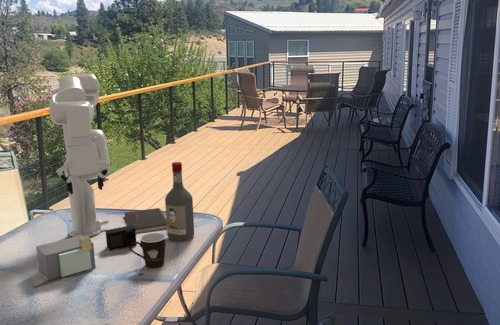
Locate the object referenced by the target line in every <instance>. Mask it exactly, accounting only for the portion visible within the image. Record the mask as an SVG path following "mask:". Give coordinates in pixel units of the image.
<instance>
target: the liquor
mask: <svg viewBox="0 0 500 325" xmlns="http://www.w3.org/2000/svg"><path fill="white" fill-rule="evenodd" d="M171 171H172V179H173V180H172V181H173V183H172V184H173V185H172V187H171V189H170V191H169V192H168V193H167V194H166V195H165V198H164V202H165V204H164V205H165V218H166V221H167V229H166V234H167V237H168V240H170V241H173V240H174V241H175V242H178V243H179V242H180V241H182V242H186V240H187V241H189V240H190V239H191V237H192V238H193V237H194V236H195V222H194V219H195V218H194V206H193V205H194V204H193V203H194V201H193V200H194V199H193V196H192V194H191V192H189V191H188V190H187V189H186V188H185V187H184V184H183V172H182V171H183V164H182V162H181V161H173V162H171ZM189 238H190V239H189ZM188 239H189V240H188Z"/></svg>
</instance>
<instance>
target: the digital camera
mask: <svg viewBox="0 0 500 325" xmlns="http://www.w3.org/2000/svg"><path fill="white" fill-rule="evenodd" d="M104 232H105V239H106V240H105V241H106V248H107V249H108V251H116V250H120V249H126V248H130V245H131V243H133V242H137V233H136V231H135V228H134V226H133V225H131V226H129V225H127V226H121V227H116V228H111V229H105V231H104ZM137 245H138V244H133V245H132V246H131V247H135V246H137Z"/></svg>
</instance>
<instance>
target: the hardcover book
mask: <svg viewBox="0 0 500 325" xmlns="http://www.w3.org/2000/svg"><path fill="white" fill-rule="evenodd" d="M123 213H124V214H123V215H124V216H125V218H126V221H127V224H128V226H131V225H133V226H134V228H135V231H136V234H139V233H143V232H144V233H146V232H151V231H158V230H164V229H165V230H167V229H166V228H167V221H166V215H164V213H163V211H162V210H161V208H160V207H157V208H156V207H155V208H147V209H140V210H133V211H126V212H125V211H124V212H123Z"/></svg>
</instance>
